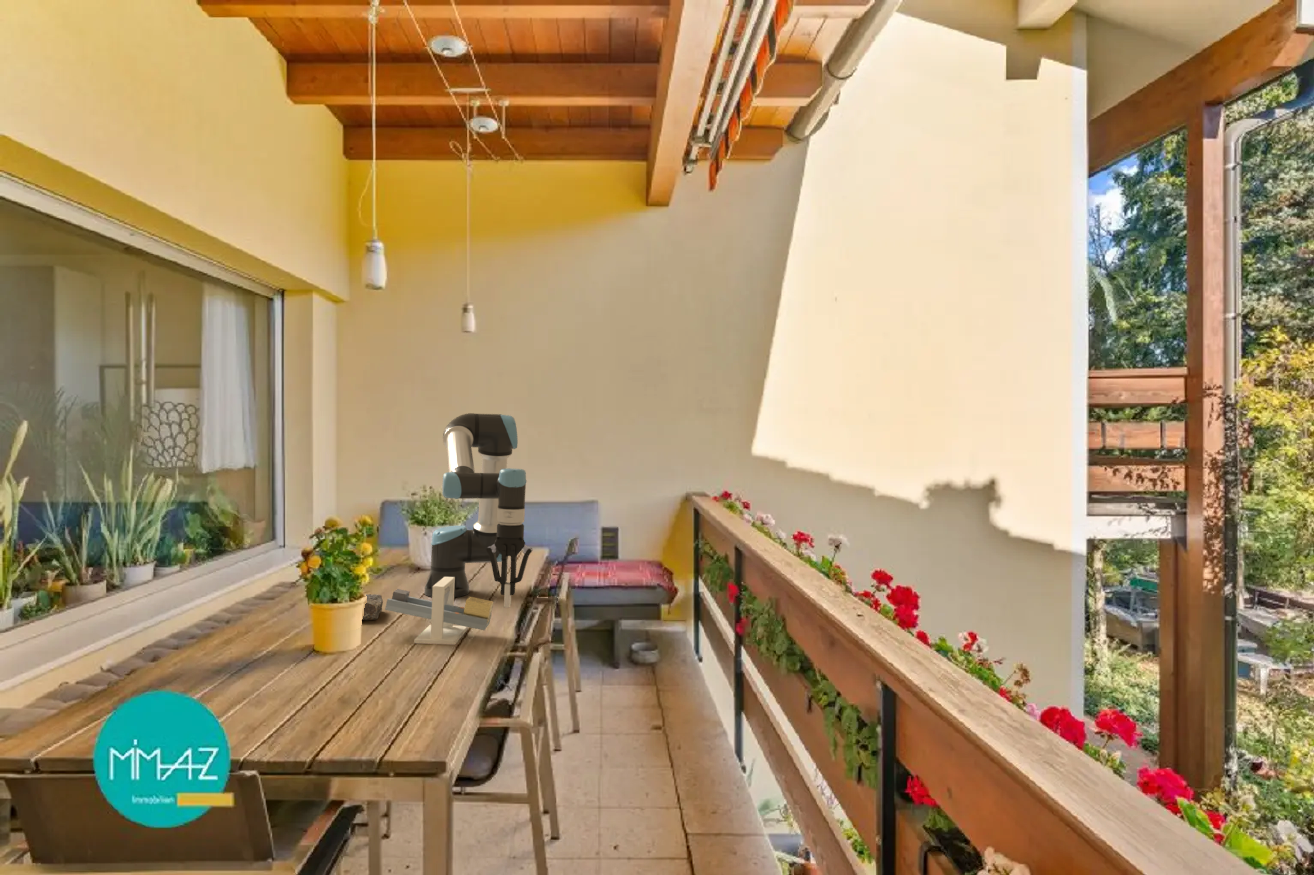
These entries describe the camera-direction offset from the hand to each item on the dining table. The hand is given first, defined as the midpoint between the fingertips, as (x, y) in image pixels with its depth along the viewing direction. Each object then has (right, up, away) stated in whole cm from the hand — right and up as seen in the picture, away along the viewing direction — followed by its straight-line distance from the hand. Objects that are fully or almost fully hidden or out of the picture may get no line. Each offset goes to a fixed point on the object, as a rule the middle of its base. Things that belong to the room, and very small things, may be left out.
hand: (507, 606), depth 194 cm
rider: (-9, -4, 0) cm, 10 cm away
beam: (-19, -3, 0) cm, 20 cm away
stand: (-18, -8, 0) cm, 20 cm away
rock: (-48, -7, +15) cm, 51 cm away
